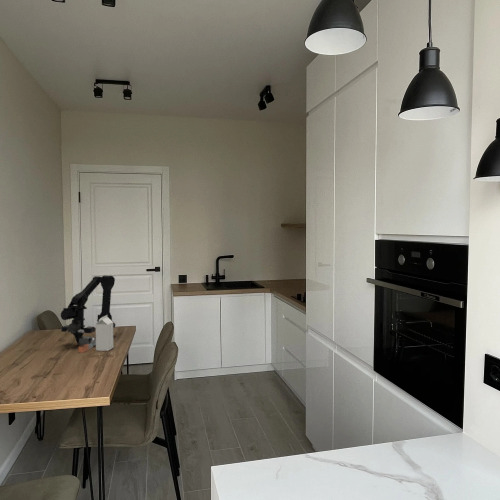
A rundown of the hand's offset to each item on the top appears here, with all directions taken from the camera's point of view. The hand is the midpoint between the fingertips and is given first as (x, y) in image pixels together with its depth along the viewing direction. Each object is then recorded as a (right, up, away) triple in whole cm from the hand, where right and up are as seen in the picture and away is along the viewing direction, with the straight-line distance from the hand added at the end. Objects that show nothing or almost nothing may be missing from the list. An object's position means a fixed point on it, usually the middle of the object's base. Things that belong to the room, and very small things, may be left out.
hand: (78, 343), depth 239 cm
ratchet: (+7, -1, -6) cm, 10 cm away
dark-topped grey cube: (+5, -1, -1) cm, 5 cm away
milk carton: (+19, -2, -8) cm, 21 cm away
